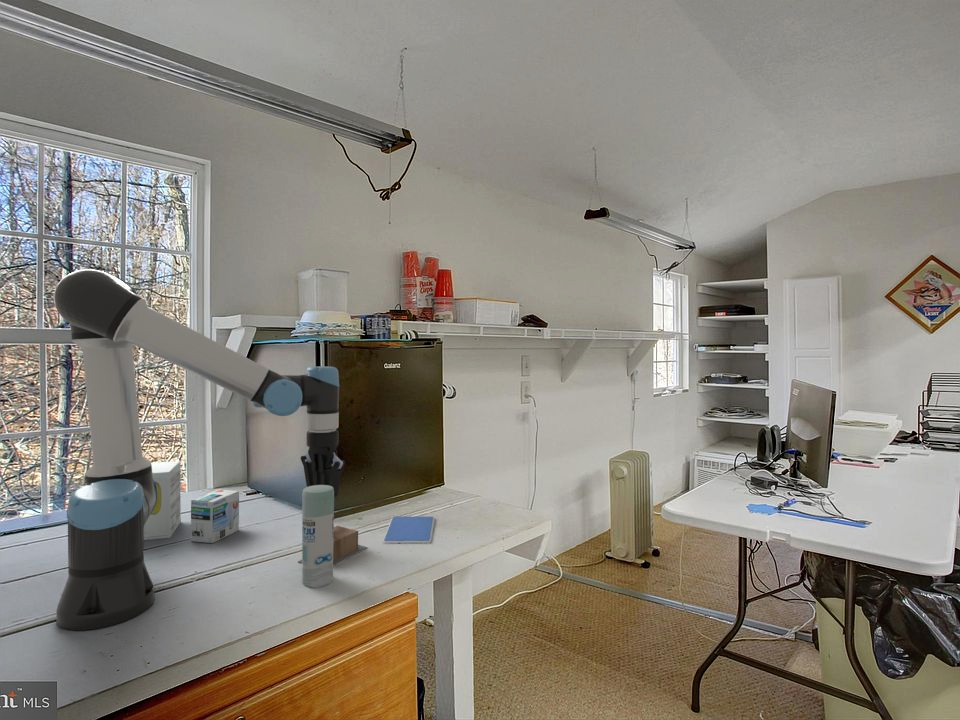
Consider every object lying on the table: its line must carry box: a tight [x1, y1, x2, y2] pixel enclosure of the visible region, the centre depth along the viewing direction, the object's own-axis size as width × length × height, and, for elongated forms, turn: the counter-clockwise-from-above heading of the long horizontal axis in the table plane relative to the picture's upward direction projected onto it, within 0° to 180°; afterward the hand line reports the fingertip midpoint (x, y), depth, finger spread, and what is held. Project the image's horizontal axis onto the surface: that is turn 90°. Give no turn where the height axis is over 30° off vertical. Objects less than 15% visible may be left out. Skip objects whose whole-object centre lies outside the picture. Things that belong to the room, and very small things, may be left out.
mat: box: [297, 544, 369, 566], centre depth 126 cm, size 15×8×1 cm, turn 150°
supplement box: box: [144, 460, 182, 541], centre depth 139 cm, size 13×13×18 cm
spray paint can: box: [301, 485, 335, 589], centre depth 112 cm, size 6×6×20 cm
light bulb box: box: [190, 489, 240, 544], centre depth 138 cm, size 11×7×11 cm, turn 169°
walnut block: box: [333, 525, 359, 561], centre depth 127 cm, size 7×4×11 cm
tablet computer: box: [382, 516, 436, 545], centre depth 144 cm, size 19×13×1 cm, turn 2°
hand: (322, 525), depth 128 cm, fingers closed
